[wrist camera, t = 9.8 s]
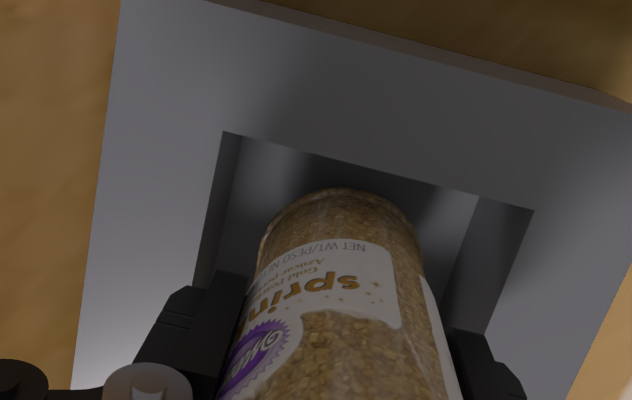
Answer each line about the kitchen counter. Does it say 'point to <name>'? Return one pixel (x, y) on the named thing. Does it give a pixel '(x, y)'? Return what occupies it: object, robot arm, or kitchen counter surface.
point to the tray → (354, 175)
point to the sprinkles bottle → (339, 309)
